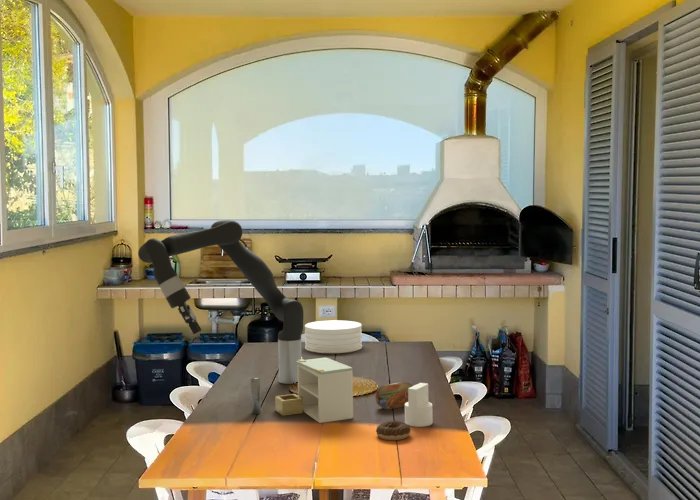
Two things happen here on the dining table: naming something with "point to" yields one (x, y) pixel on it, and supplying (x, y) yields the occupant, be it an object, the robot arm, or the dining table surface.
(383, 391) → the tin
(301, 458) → the dining table surface
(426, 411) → the cylinder with rectangular tab
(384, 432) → the donut
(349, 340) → the plate stack
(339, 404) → the cabinet
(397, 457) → the dining table surface
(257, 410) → the hinge pin
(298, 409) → the tan open box
